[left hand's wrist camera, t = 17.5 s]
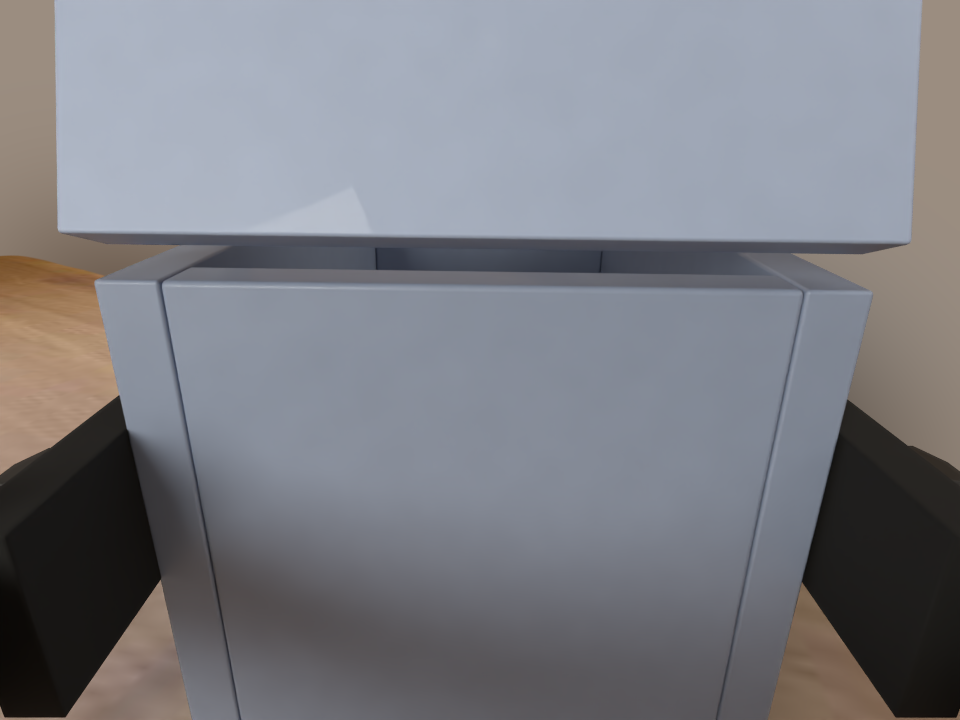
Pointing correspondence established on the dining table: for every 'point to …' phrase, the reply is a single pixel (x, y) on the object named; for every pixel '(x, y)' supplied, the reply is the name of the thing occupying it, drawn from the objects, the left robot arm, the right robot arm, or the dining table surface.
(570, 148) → the lid
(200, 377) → the chest
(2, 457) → the dining table surface
